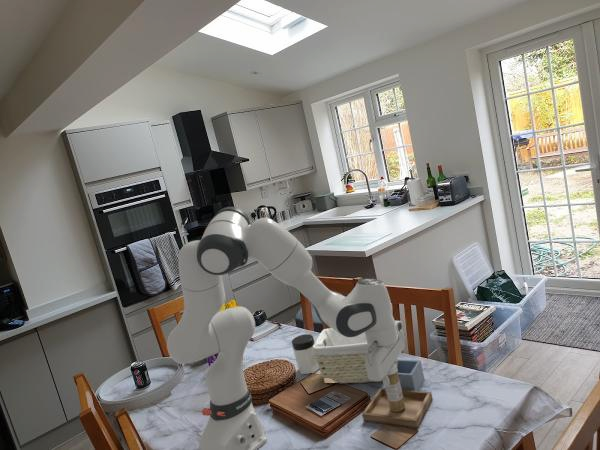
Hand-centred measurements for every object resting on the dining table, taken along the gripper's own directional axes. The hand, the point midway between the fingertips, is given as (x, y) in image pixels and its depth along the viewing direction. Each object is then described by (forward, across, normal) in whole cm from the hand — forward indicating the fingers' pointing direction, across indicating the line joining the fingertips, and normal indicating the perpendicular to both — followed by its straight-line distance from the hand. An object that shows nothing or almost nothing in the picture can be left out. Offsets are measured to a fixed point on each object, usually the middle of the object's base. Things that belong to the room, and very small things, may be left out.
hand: (391, 378), depth 133 cm
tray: (+10, 0, 0) cm, 10 cm away
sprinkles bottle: (+9, 0, 0) cm, 9 cm away
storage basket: (+10, +18, +21) cm, 30 cm away
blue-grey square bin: (+10, +13, +2) cm, 17 cm away
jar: (+10, +19, +42) cm, 47 cm away
